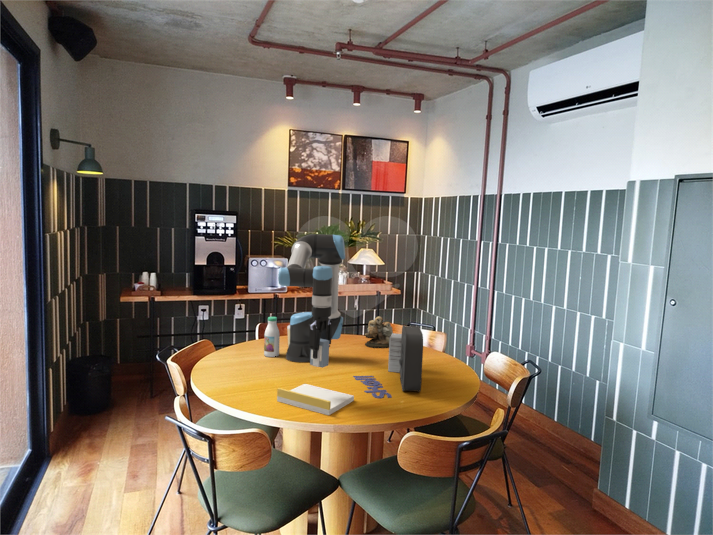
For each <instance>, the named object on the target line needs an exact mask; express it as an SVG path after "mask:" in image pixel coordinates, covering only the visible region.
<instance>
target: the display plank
mask: <svg viewBox="0 0 713 535" xmlns="http://www.w3.org/2000/svg"><path fill="white" fill-rule="evenodd" d="M276 392H277V394H276V401H277V402H279V403H283V404H287V405H291V406H293V407H297V408H301V409H304V410H307V411H311V412H315V413H318V414H319V413H320V414H323V415H326V416H330V415H332V414H334V413H335V412H337V411H339V410H340V409H342V408H344V407H345V406H348V405H349V404H351V403H352V402H354V400H355V396H354V394H353V395H352V394H348V393H344V392H340V391H336V390H331V389H328V388H324V387H320V386H316V385H312V384H307V383H303V384H301V385H299V386H297V387H295V388H292V389H290V390H289V389H285V388H281V387H278V388H277V389H276Z"/></svg>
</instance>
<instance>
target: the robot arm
mask: <svg viewBox="0 0 713 535" xmlns="http://www.w3.org/2000/svg"><path fill="white" fill-rule="evenodd" d="M290 252H291V256H290V258H289V261H288V263H287V266H286V267H279V270H278V278H277V279H278V280H277V281H278V284H279V286H283V287H287V288H288V287H298V288H299V287H304V288H312V293H311V294H312V296H311V305H312V307H311V311H303V312H298V313H294V314H292V315H291V316H290V321H289V325H290V344H289V347H288V346H287V350H286V353H285V359H286V360H287V361H289V360H290V361H289V362H295V363H308V362H309V363H310V351H311V349H312V350H313V365H312V367H315V368H316V367H318V368H321V367H320V350H319V344H320V339H325V340H329V348H330V347H331V344H332V340H338V339H340V338H341V335H342V330H343V323H344V317H343V316H342V315H341V312H340V311H339V310H338V309H339V308H338V307H339V277H340V276H339V274H340V273H339V272H340V271H339V270H340V265H342V264H343V260H345V259H346V248H345V240H344V237H343V236H342V235H341V234H324V233H323V234H321V233H320V234H318V233H317V234H315V233H310V234H306V235H304V236H302V237H299V238H298V239H297V240H295V242H294V243H293V245H292V246H291V251H290ZM309 259H317V260H318V263H319V264H320V265H316V266H314V267H313V268H306V267H307V264H308V261H309Z"/></svg>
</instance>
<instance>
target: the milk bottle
mask: <svg viewBox="0 0 713 535" xmlns="http://www.w3.org/2000/svg"><path fill="white" fill-rule="evenodd" d="M277 320H278V317H277V316H268V317H267V326H266V328H265V331H264V339H263V341H264V343H263V344H264V346H263V355H264V356H265V357H266V358H275V356H276V357H279V356H280V340H281V339H280V330H279V327H278V325H277V324H278V323H277Z"/></svg>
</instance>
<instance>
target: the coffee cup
mask: <svg viewBox="0 0 713 535" xmlns="http://www.w3.org/2000/svg"><path fill="white" fill-rule="evenodd" d="M286 328H287V348H288V347H289V344H290V324H288V325H287V327H286Z"/></svg>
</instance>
